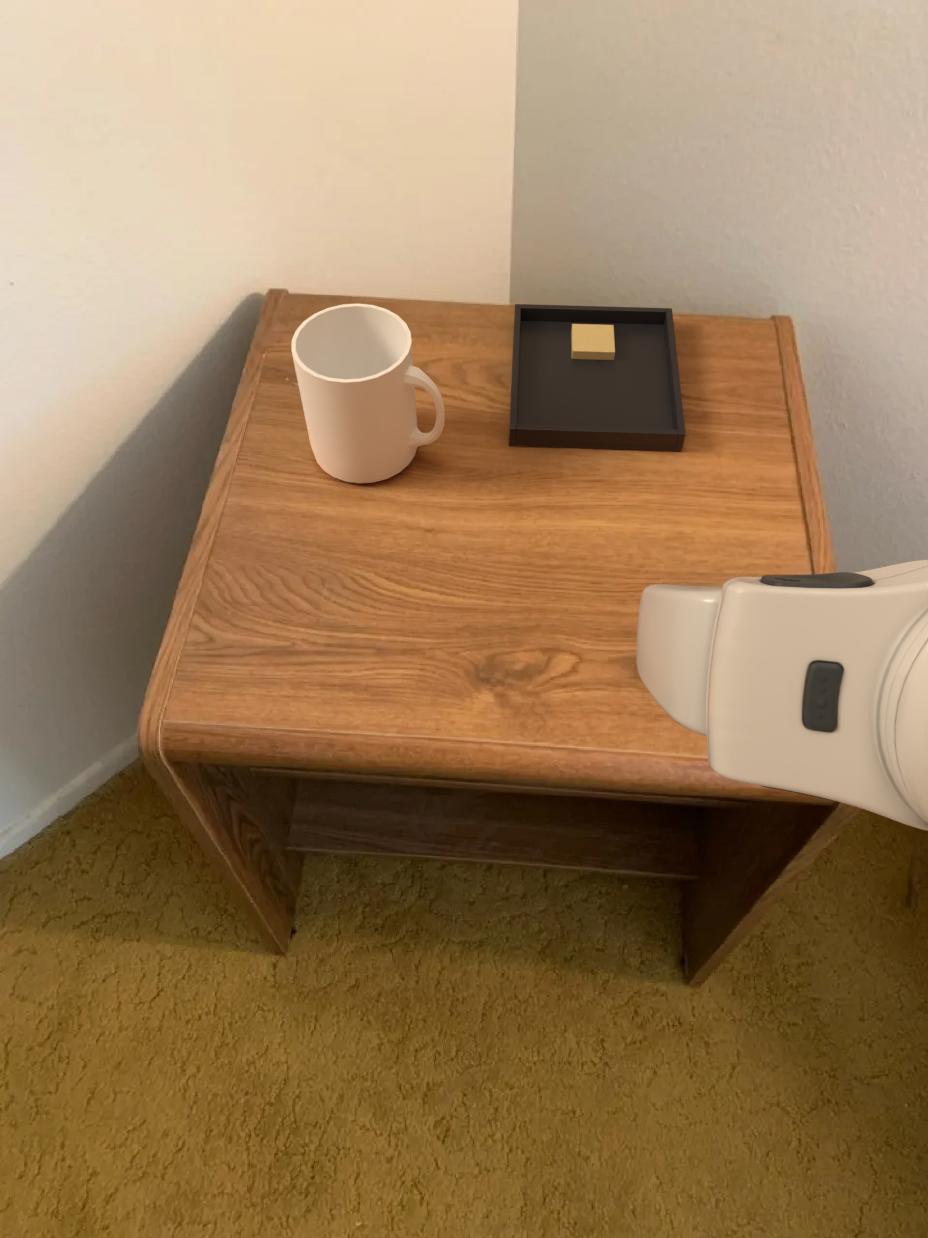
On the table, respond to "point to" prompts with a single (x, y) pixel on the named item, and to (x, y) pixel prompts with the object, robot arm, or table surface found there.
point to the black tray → (595, 381)
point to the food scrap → (592, 342)
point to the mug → (361, 392)
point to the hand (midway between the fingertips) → (842, 614)
